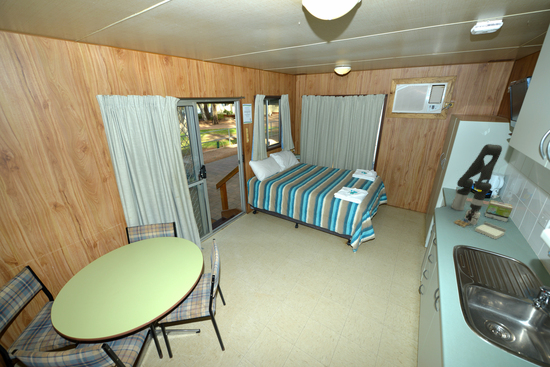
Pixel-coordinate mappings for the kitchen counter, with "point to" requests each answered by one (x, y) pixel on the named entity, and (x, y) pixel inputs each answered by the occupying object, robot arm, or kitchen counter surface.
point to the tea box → (498, 210)
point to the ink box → (474, 218)
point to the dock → (490, 230)
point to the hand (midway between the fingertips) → (470, 219)
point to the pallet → (461, 223)
